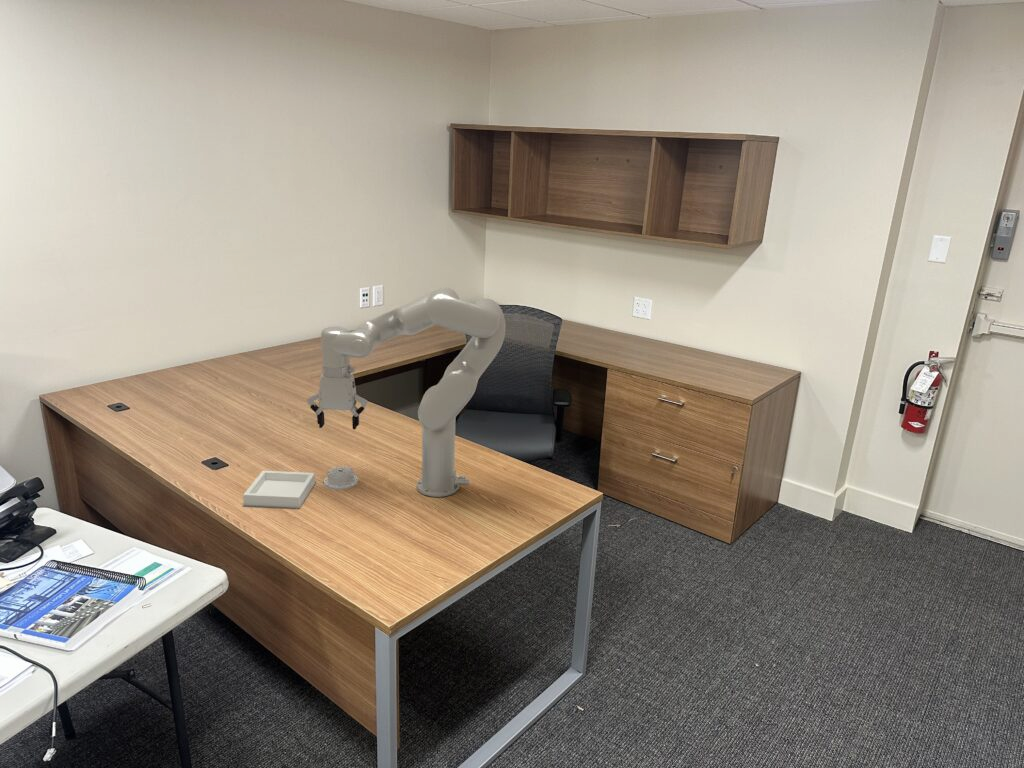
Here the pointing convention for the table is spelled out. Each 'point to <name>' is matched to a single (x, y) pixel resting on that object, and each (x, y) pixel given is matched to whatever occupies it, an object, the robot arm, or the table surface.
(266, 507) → the grey flat plate
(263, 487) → the tray
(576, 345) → the table surface
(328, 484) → the mechanical component
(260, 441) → the table surface
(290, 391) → the table surface
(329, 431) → the table surface
